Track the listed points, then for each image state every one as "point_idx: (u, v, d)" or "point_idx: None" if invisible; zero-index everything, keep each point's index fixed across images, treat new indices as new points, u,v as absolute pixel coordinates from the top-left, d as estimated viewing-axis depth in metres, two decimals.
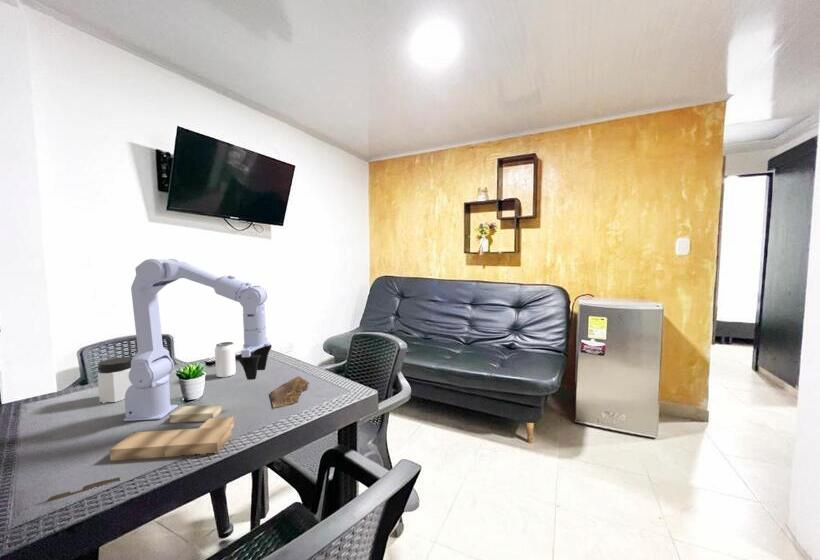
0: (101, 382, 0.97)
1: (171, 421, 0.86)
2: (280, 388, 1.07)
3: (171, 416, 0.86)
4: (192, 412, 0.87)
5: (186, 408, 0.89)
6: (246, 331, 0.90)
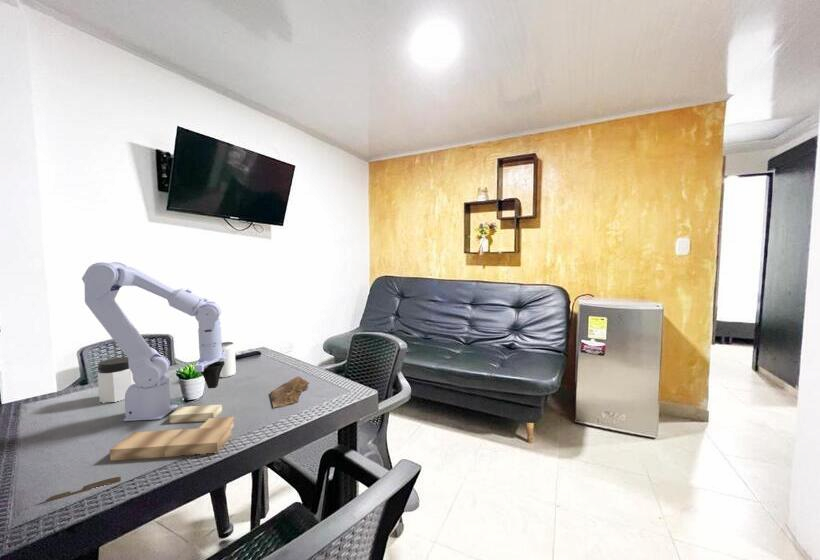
0: (101, 382, 0.97)
1: (171, 421, 0.85)
2: (280, 388, 1.07)
3: (171, 416, 0.85)
4: (192, 412, 0.87)
5: (185, 408, 0.89)
6: (201, 346, 0.93)
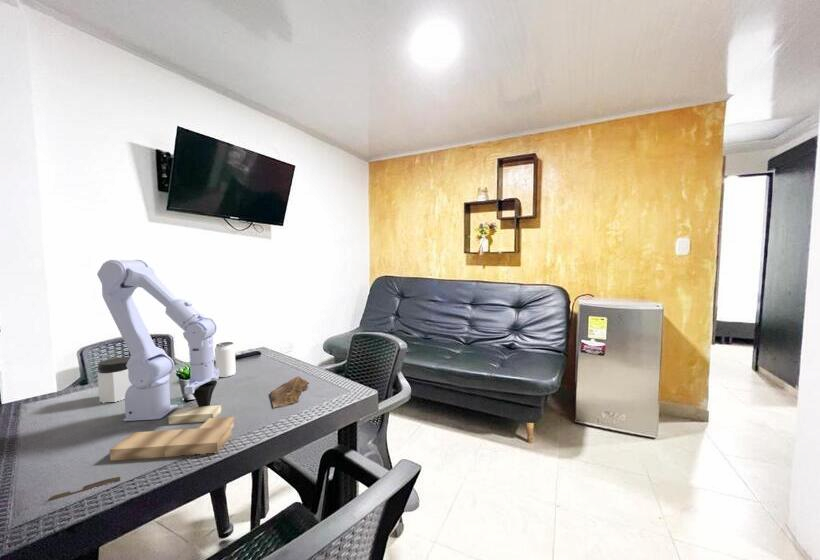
0: (101, 382, 0.97)
1: (170, 423, 0.85)
2: (280, 388, 1.07)
3: (170, 417, 0.85)
4: (192, 413, 0.86)
5: (184, 409, 0.89)
6: (192, 366, 0.88)
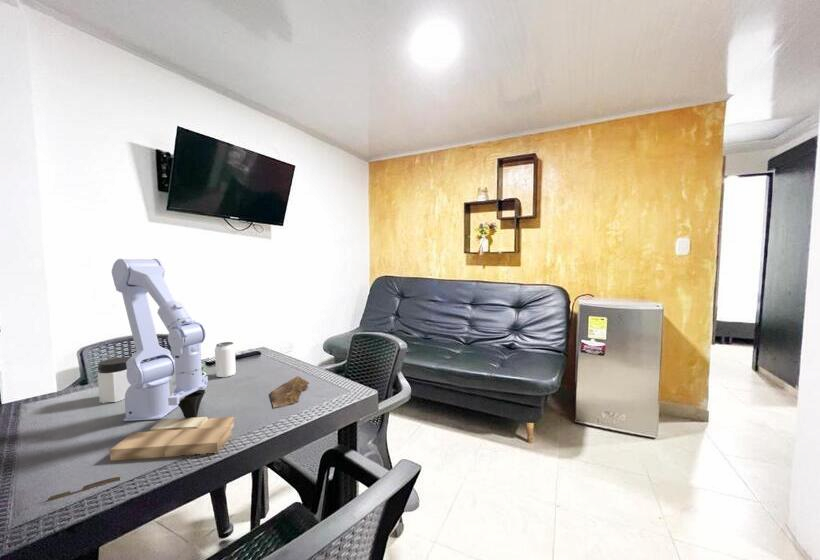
0: (101, 382, 0.97)
1: None
2: (280, 388, 1.07)
3: (151, 430, 0.79)
4: (175, 426, 0.80)
5: (168, 421, 0.82)
6: (177, 374, 0.82)
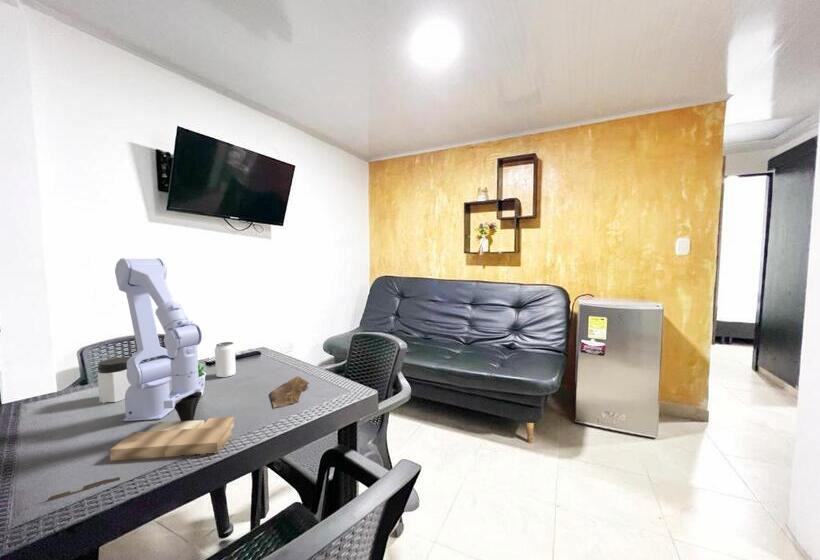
0: (101, 382, 0.97)
1: None
2: (280, 388, 1.07)
3: None
4: (170, 429, 0.78)
5: (164, 424, 0.81)
6: (173, 376, 0.80)
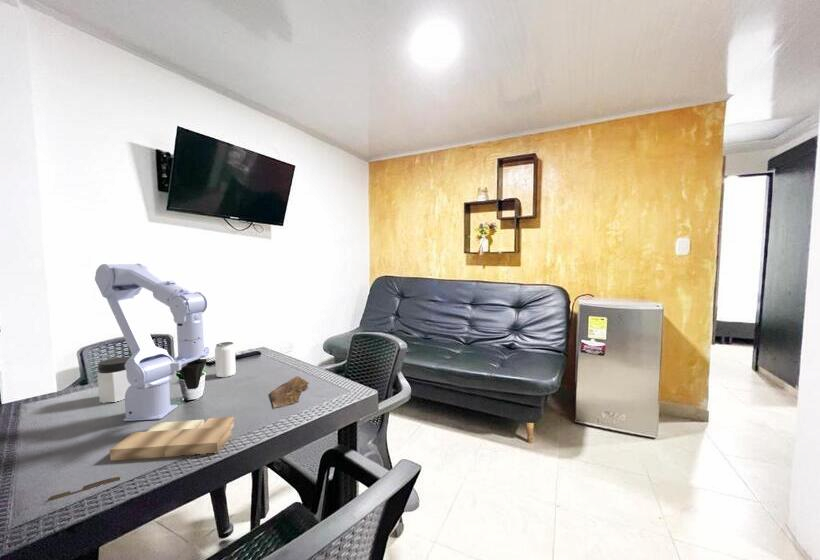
0: (101, 382, 0.97)
1: None
2: (280, 388, 1.07)
3: None
4: (171, 429, 0.78)
5: (163, 424, 0.80)
6: (179, 342, 0.83)
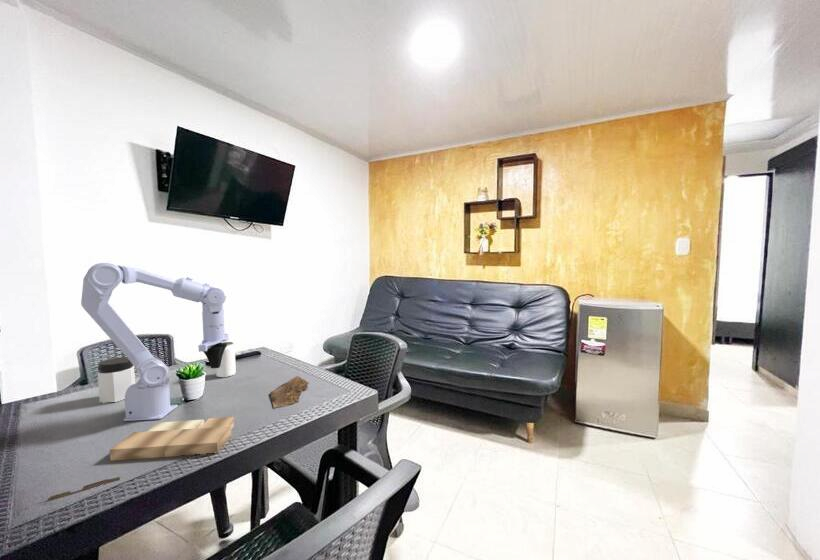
0: (101, 382, 0.97)
1: None
2: (280, 388, 1.07)
3: None
4: (171, 429, 0.78)
5: (163, 424, 0.81)
6: (204, 328, 0.98)
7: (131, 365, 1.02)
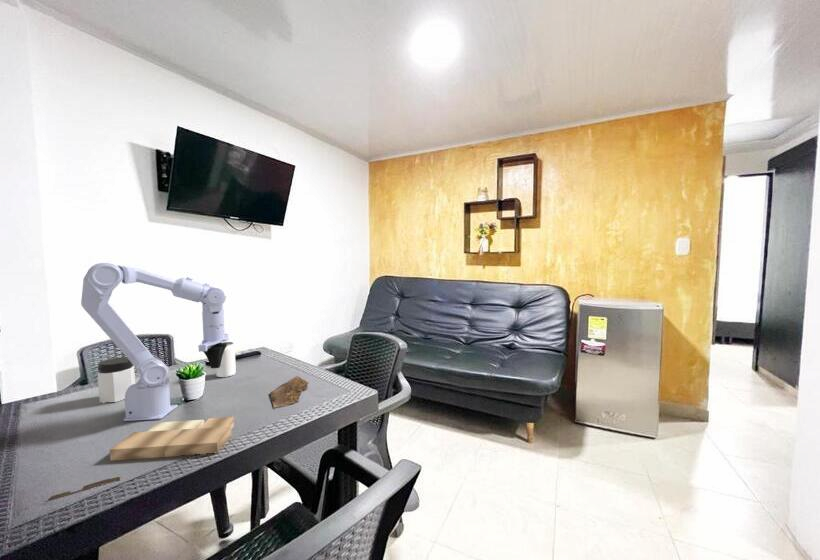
0: (101, 382, 0.97)
1: None
2: (280, 388, 1.07)
3: None
4: (170, 429, 0.78)
5: (163, 424, 0.81)
6: (204, 328, 0.98)
7: (131, 365, 1.02)
